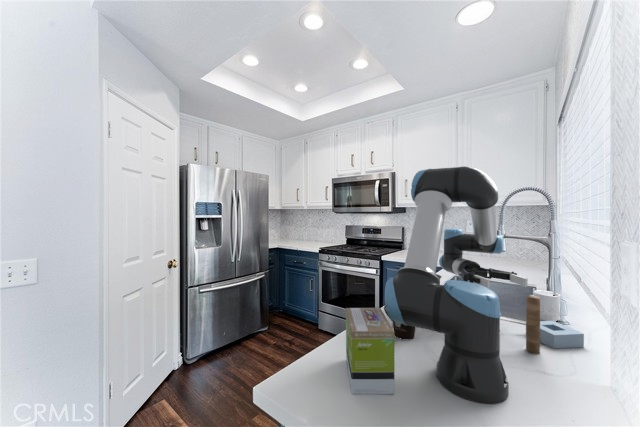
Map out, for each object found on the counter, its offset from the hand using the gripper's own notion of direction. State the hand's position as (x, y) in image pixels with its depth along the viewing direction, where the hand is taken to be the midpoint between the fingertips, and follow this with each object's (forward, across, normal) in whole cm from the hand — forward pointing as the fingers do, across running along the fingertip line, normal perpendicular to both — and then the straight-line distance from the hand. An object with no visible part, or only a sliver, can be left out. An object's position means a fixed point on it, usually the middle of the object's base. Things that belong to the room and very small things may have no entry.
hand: (507, 283), depth 90 cm
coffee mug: (-5, +34, -18) cm, 39 cm away
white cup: (-12, -27, -18) cm, 34 cm away
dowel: (+10, 0, -18) cm, 20 cm away
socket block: (+4, -13, -18) cm, 22 cm away
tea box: (+17, +52, -17) cm, 58 cm away
